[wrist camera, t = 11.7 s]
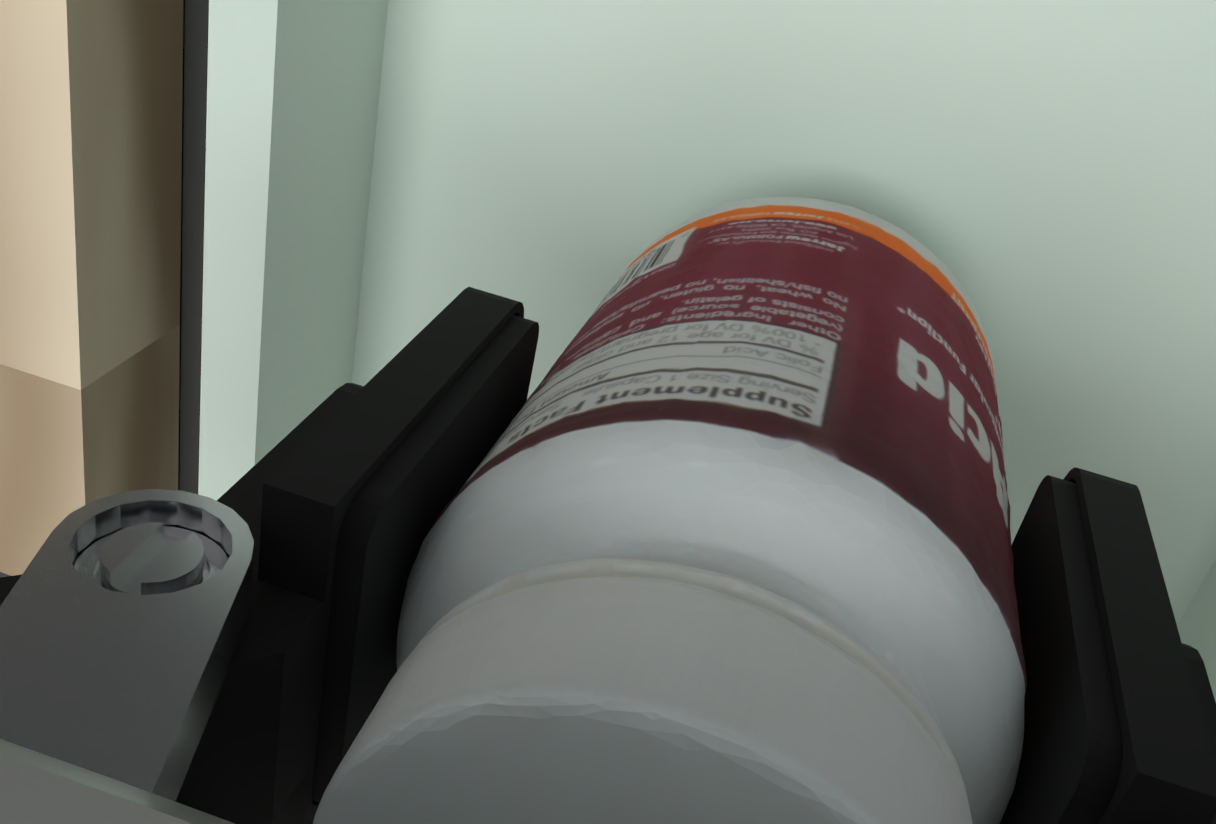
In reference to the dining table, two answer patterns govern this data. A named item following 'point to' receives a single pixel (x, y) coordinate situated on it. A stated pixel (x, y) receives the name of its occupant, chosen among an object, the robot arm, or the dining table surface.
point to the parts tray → (730, 198)
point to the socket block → (87, 258)
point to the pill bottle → (723, 558)
